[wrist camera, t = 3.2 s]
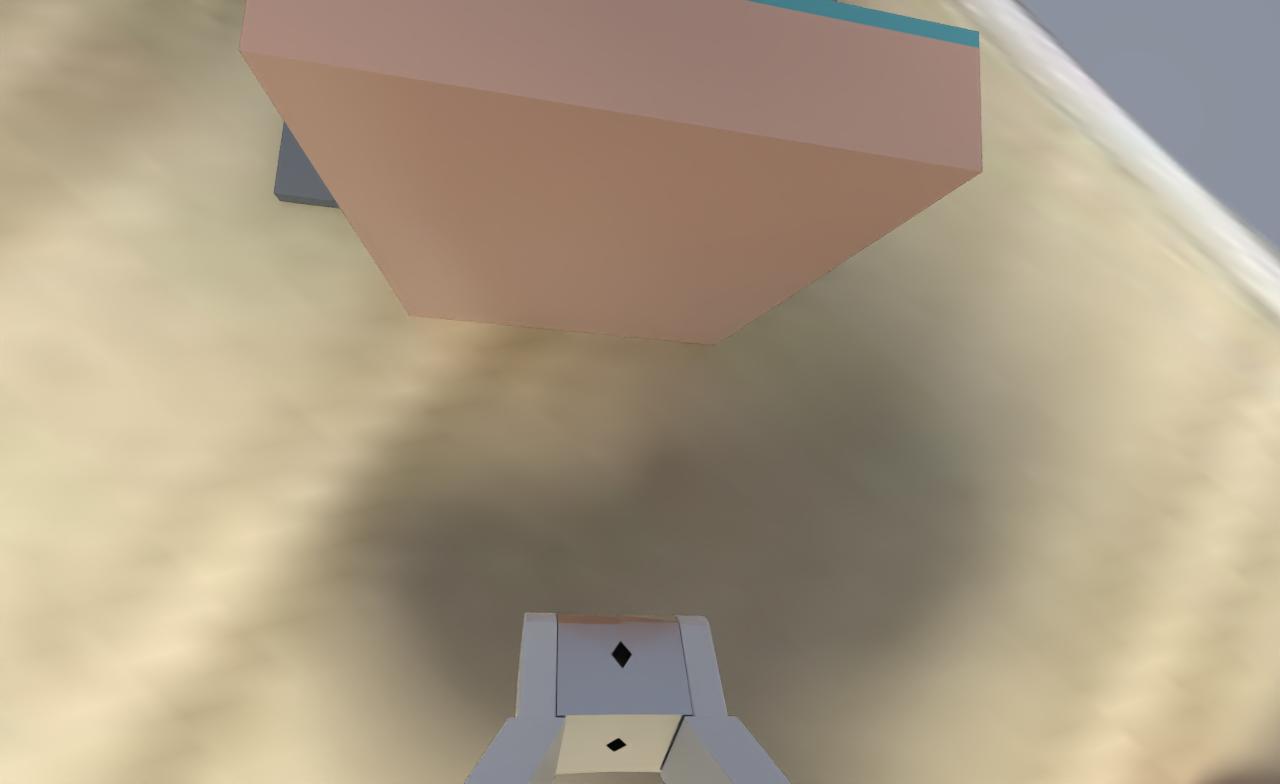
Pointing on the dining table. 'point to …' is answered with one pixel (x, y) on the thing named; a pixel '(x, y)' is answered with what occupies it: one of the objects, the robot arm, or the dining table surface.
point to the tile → (618, 147)
